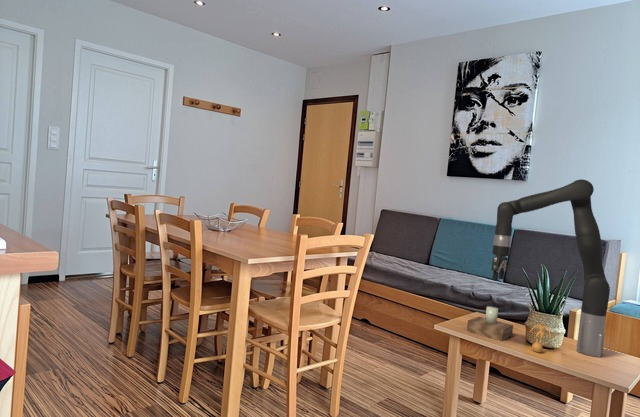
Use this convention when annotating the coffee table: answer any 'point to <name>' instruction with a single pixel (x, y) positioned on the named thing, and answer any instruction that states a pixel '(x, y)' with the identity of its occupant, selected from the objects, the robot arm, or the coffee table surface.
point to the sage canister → (491, 315)
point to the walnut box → (490, 328)
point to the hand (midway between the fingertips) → (498, 279)
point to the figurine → (537, 346)
